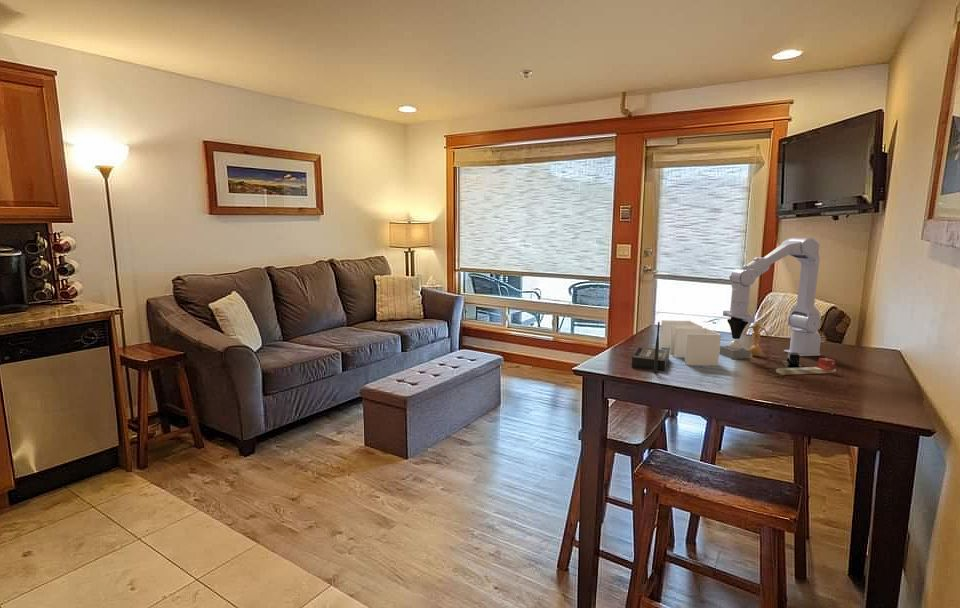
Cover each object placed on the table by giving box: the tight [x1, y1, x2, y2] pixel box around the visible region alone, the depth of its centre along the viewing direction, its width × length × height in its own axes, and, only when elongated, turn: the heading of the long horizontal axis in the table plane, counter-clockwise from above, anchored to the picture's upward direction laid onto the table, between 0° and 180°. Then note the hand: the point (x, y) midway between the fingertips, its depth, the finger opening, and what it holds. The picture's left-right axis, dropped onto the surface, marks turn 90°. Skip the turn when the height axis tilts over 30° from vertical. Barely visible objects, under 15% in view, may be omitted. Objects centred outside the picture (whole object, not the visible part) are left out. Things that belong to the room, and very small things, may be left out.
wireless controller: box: [631, 321, 670, 374], centre depth 171 cm, size 20×14×17 cm
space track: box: [775, 357, 837, 376], centre depth 166 cm, size 20×4×4 cm, turn 100°
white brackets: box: [659, 320, 722, 366], centre depth 184 cm, size 25×11×11 cm, turn 1°
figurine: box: [743, 323, 769, 357], centre depth 187 cm, size 8×6×12 cm
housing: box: [719, 345, 751, 360], centre depth 186 cm, size 7×7×3 cm
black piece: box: [781, 352, 804, 368], centre depth 175 cm, size 12×7×5 cm, turn 158°
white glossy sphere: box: [727, 339, 743, 350], centre depth 186 cm, size 5×5×5 cm
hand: (736, 338), depth 185 cm, fingers closed
